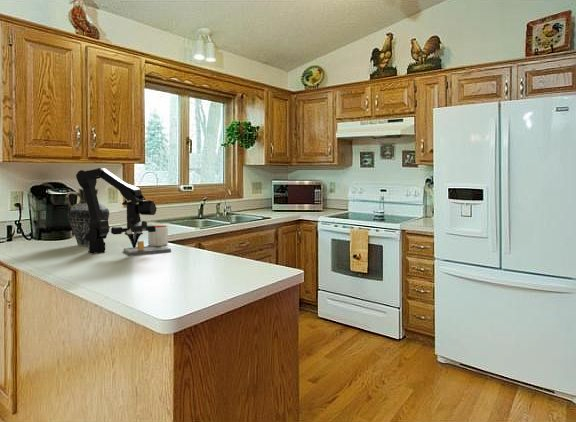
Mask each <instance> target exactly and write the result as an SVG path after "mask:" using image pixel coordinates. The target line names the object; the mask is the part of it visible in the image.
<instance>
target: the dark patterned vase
mask: <svg viewBox="0 0 576 422" xmlns="http://www.w3.org/2000/svg"><path fill="white" fill-rule="evenodd" d="M95 190H96V194H97V195H98V191H99V189H98V188H95ZM71 195H72V196H76V197H79V201H78V202H77V203H75V204H73V205H72V204H71V202H70V196H71ZM64 199H65V202H66V203H67V213H66V214H67V219H68V222H69V224H70V228H71V229H72V233H73V235H74V238H75V240H76V243H77V246H81V247H89V243H88V241H86V240H85V236H86V234H87V233H88V232H89V231H90V230H89V225H90V221H91V218H90V214H89V210H88V206H87V201H86V197H85V193H84V190H83V189H82V187H81V188H78V191H70V192H67V193H66V195H65V198H64ZM98 203H99V207H100V211H101V215H102V218H103V219H104V220H109V218H110V211H109V208H108V207H107V206H106V205H103V204H102V203H100V202H99V201H98Z"/></svg>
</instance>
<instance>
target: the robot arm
mask: <svg viewBox="0 0 576 422" xmlns="http://www.w3.org/2000/svg"><path fill="white" fill-rule="evenodd" d="M75 178H76V181H77V182H78V183H77V184H78V186H80V187H81V188H82V189H83V190H84V193H85V197H86V201H87V206H88V210H89V214H90V218H91V221H90V225H89V230H90V231H89V232H88V233H87V234H86V236H85V240H86V241H88V243H89V246H88V251H87V253H88V254H89V255H93V254H104V253H106V241H104V240H105V239H107V236H108V235H109V232H110V233H111V235H122V234H123V233H124V235H125V236H127V238H128V239H129V241H130V244H131V246H132V248H135V247H137V245H138V244H137V241H139V239H140V237H141V235H143V234H144V233H143V231H144V232H145V231H147V233H148V232H156V228H155V226H156V225H152V224H148V221H147V220H142V219H141V215H142V216H155V215H156V213H157V206H156V204H155V201H154V199H152V200H150V199H149V200H147V199H146V198H145V196H144V194H142V190H141V189H140V188H139V187H137V186H135V185H132V184H129V183H127V182H125V181H124V180H122V179H121V178H119V177H118V176H116V175H115V174H114V173H112V172H110V171H109V170H108V169H107V168H106V167H105V168H104V167H98V168H95V169H94V168H93V169H88V170H87V169H86V170H85V169H82V170H79V171H78V172H77V173H76V175H75ZM98 179H102V180H103V181H105V182H106V183H108V184H109V185H111V186H112V187H113V188H115V189H116V190H117V191H119V193H120V195H121V196H122V197H123V198H124V199H125V200H124V201H123V202H122V203H121V205H122V206H126V227H122V226H112V227H110V225H109V221H108V220H109V219H108V220H104V219H103V218H102V215H101V211H100V207H99V203H100V202H99V199H98V193H97V194H96V190H95V189H96V186H97V183H98V182H97V180H98ZM98 202H99V203H98Z"/></svg>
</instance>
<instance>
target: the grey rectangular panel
mask: <svg viewBox="0 0 576 422" xmlns="http://www.w3.org/2000/svg"><path fill="white" fill-rule="evenodd" d="M171 251H172V248H170V247H168V246H167V245H165V246H164V245H161V246H150V245H148V246H144V250H138V246H136V247H135V248H133V247H127V248H126V247H124V248H123V252H124V253H125V254H127V256H130V257H132V256H142V255H153V254H163V253H171Z"/></svg>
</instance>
